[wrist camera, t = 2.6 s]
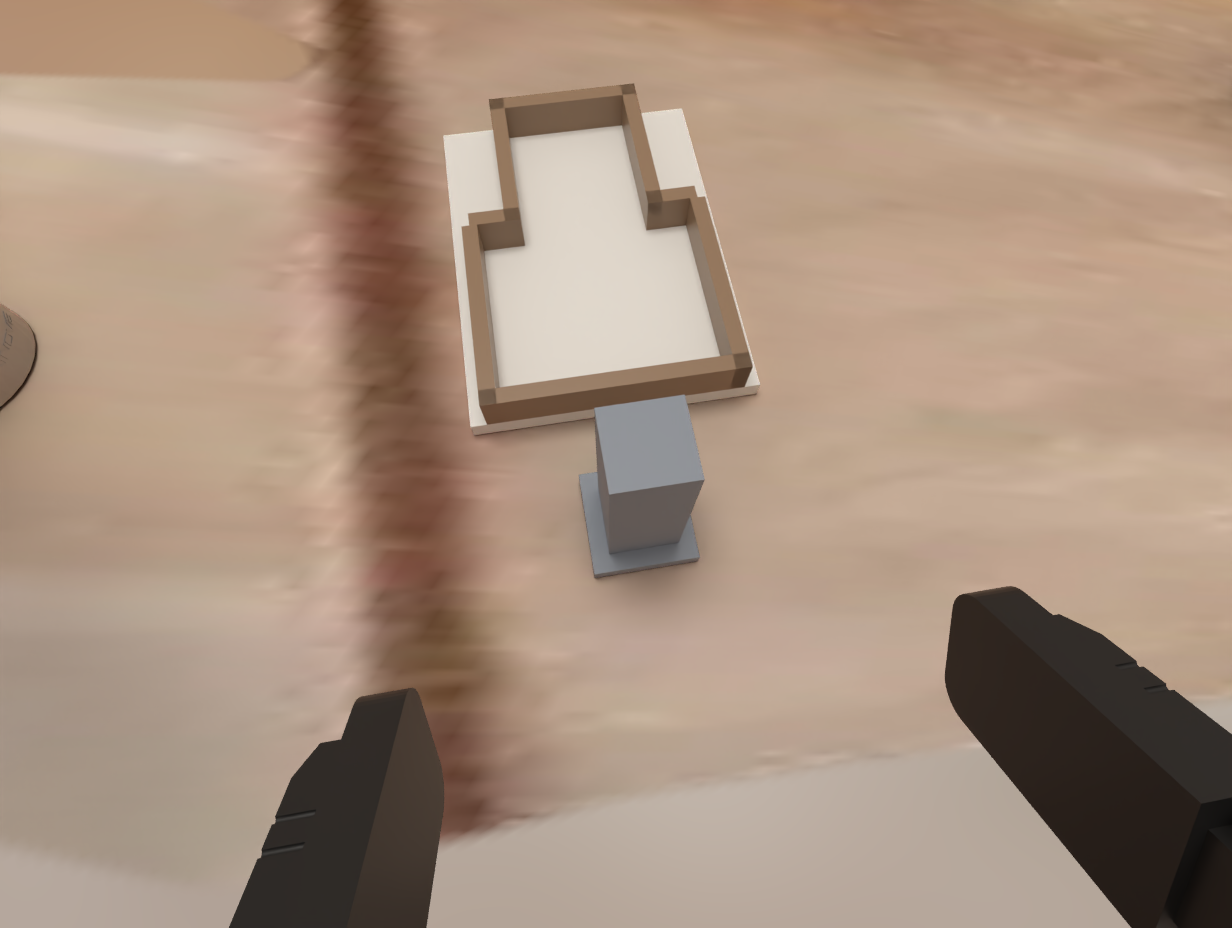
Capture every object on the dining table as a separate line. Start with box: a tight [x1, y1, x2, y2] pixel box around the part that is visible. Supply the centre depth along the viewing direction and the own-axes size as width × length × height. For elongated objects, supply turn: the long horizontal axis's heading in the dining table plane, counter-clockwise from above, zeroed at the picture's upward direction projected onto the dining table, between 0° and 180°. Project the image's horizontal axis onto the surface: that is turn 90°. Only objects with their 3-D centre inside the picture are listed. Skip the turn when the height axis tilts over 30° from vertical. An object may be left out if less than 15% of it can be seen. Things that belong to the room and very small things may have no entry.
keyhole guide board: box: [444, 84, 760, 435], centre depth 43 cm, size 18×24×4 cm
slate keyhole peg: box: [579, 395, 705, 578], centre depth 32 cm, size 6×6×12 cm
